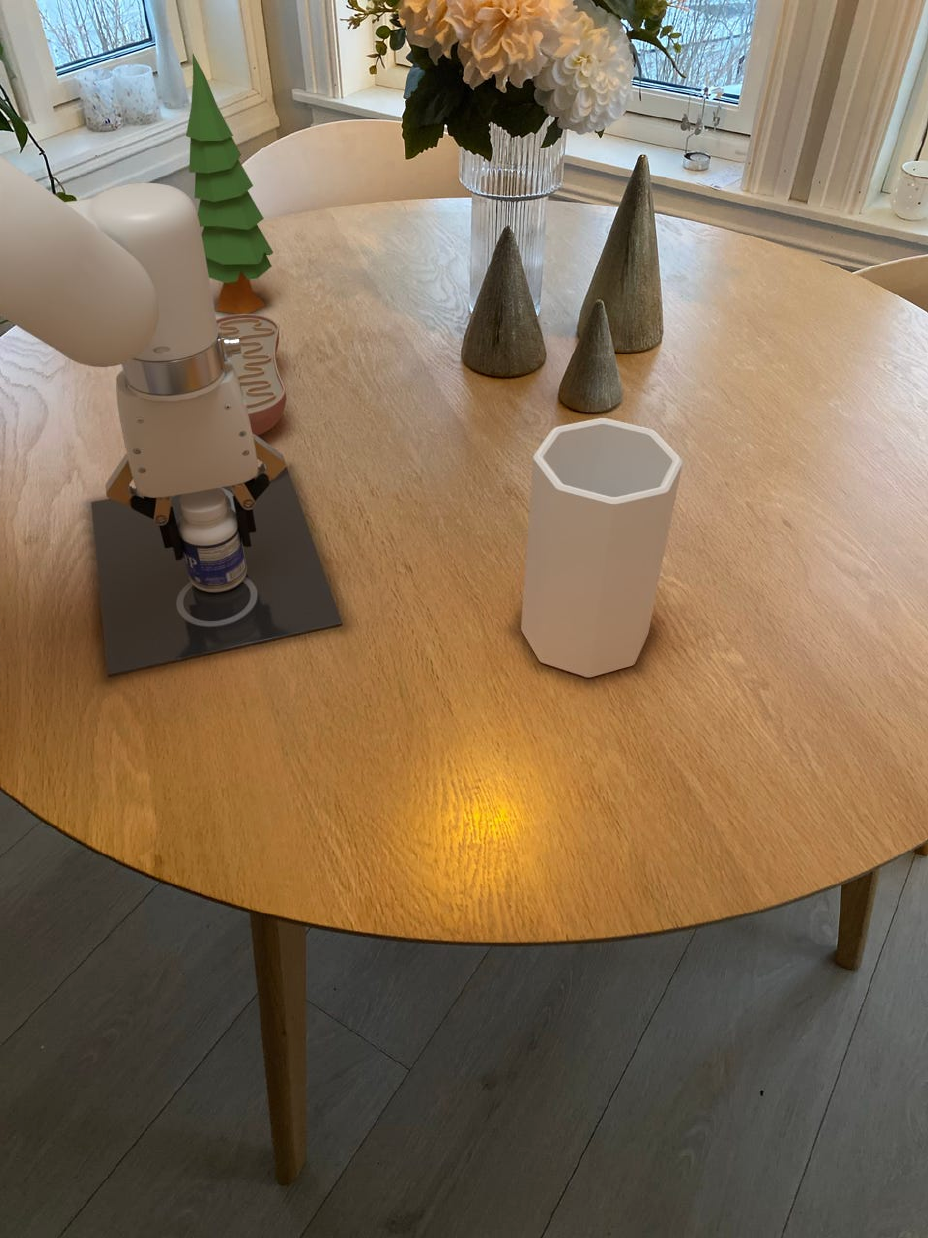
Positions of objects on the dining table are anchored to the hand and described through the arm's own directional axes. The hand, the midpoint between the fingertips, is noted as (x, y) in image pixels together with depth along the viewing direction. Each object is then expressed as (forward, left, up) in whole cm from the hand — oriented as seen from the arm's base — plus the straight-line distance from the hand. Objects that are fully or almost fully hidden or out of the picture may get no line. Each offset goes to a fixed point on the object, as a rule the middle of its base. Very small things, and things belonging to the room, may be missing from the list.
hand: (211, 542), depth 86 cm
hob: (-1, +3, -4) cm, 5 cm away
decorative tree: (+11, +55, -5) cm, 57 cm away
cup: (+29, -17, -5) cm, 34 cm away
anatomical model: (+7, +31, -5) cm, 32 cm away
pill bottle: (0, 0, -4) cm, 4 cm away
